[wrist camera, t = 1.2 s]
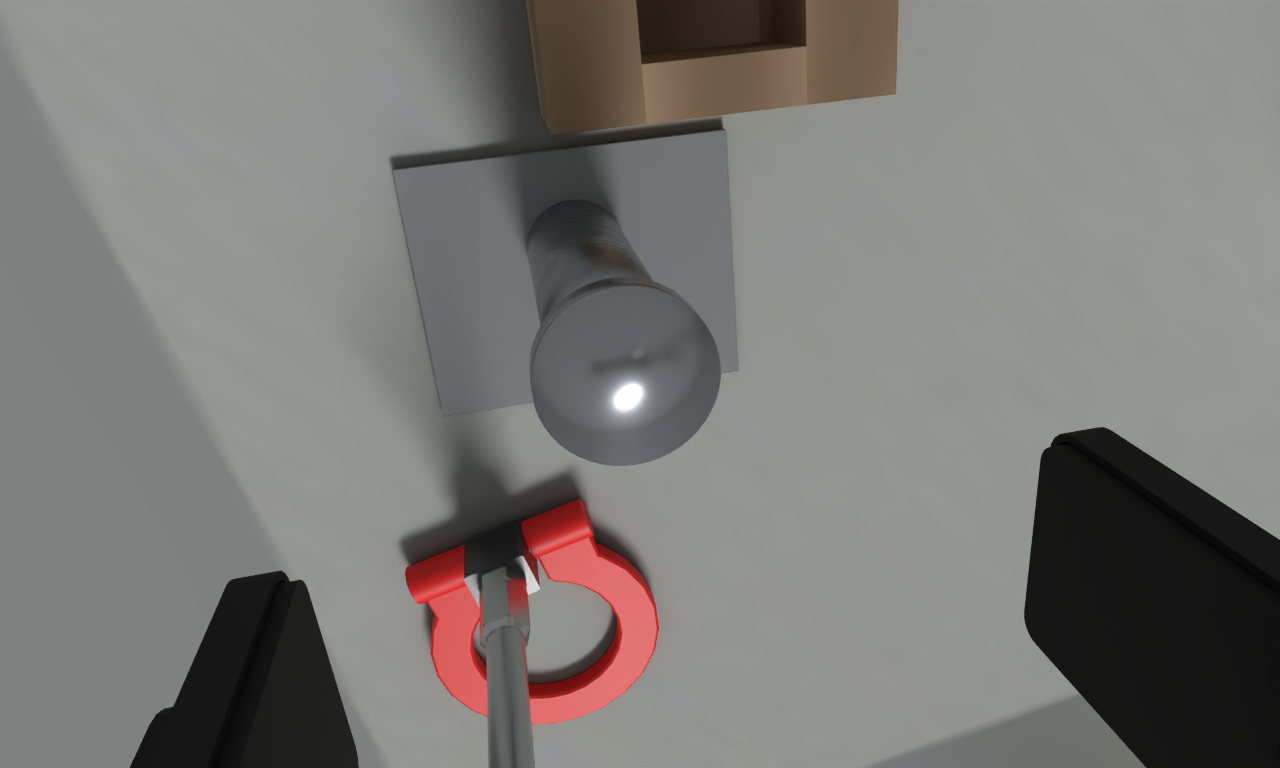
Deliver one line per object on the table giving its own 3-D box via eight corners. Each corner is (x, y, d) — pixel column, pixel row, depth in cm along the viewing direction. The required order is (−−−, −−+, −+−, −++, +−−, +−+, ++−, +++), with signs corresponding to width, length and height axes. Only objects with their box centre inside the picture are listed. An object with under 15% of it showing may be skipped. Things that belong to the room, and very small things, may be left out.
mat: (723, 128, 27) (726, 130, 26) (736, 367, 30) (738, 370, 30) (393, 168, 25) (392, 170, 25) (443, 412, 29) (443, 416, 28)
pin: (629, 179, 26) (715, 275, 17) (640, 297, 28) (725, 449, 18) (505, 194, 26) (517, 303, 16) (523, 314, 28) (545, 479, 18)
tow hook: (680, 655, 35) (601, 477, 31) (782, 990, 24) (678, 782, 19) (487, 731, 35) (381, 564, 31) (494, 1104, 24) (327, 921, 19)
